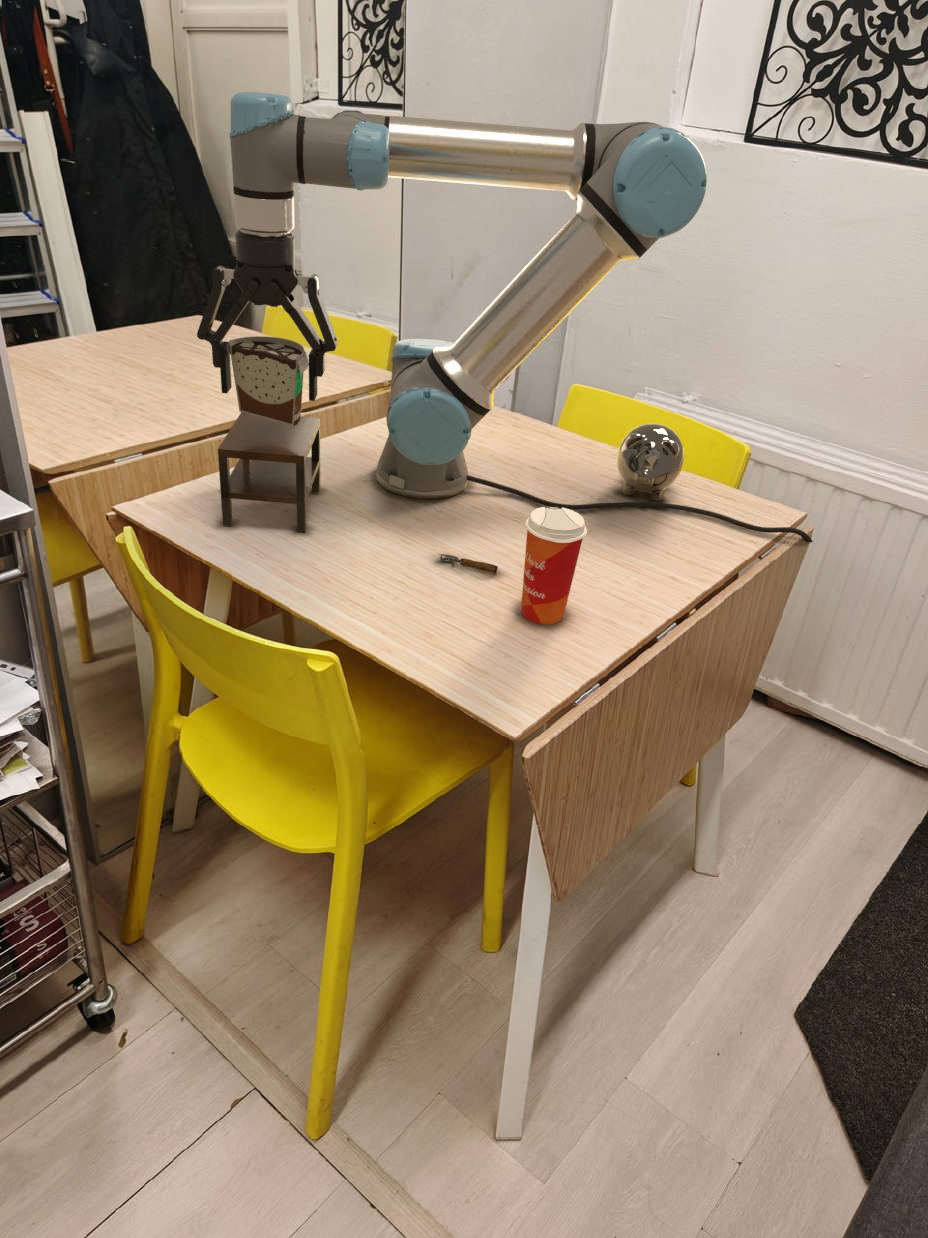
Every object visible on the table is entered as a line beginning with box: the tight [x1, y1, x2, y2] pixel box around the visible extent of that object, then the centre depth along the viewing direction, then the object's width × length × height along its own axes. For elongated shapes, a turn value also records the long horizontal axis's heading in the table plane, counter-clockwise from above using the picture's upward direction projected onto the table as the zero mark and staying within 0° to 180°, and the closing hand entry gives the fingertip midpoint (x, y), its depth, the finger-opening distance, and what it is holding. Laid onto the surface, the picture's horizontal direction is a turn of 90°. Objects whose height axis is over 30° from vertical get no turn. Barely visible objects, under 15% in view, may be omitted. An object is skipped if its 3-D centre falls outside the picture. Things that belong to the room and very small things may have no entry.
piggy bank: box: [616, 423, 686, 502], centre depth 151 cm, size 11×15×12 cm
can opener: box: [437, 553, 499, 574], centre depth 127 cm, size 9×2×1 cm, turn 65°
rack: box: [217, 412, 321, 534], centre depth 134 cm, size 12×15×12 cm
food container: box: [227, 335, 309, 427], centre depth 127 cm, size 12×6×10 cm, turn 64°
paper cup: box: [521, 506, 588, 626], centre depth 115 cm, size 8×8×14 cm
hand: (270, 394), depth 128 cm, fingers closed on food container, 12 cm apart
